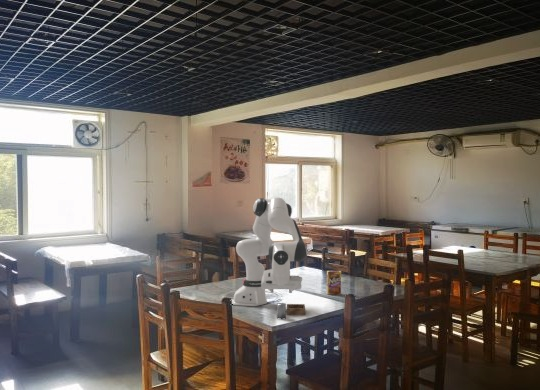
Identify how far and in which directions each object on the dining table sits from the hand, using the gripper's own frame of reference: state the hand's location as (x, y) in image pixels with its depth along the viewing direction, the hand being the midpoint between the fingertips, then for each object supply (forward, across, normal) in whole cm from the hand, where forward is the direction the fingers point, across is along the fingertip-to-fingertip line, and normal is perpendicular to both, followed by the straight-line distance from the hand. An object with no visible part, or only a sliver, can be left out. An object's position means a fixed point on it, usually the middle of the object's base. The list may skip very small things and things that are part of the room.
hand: (281, 291), depth 240 cm
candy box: (+61, -34, -37) cm, 79 cm away
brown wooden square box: (+28, -8, -4) cm, 29 cm away
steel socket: (+20, 0, +4) cm, 20 cm away
